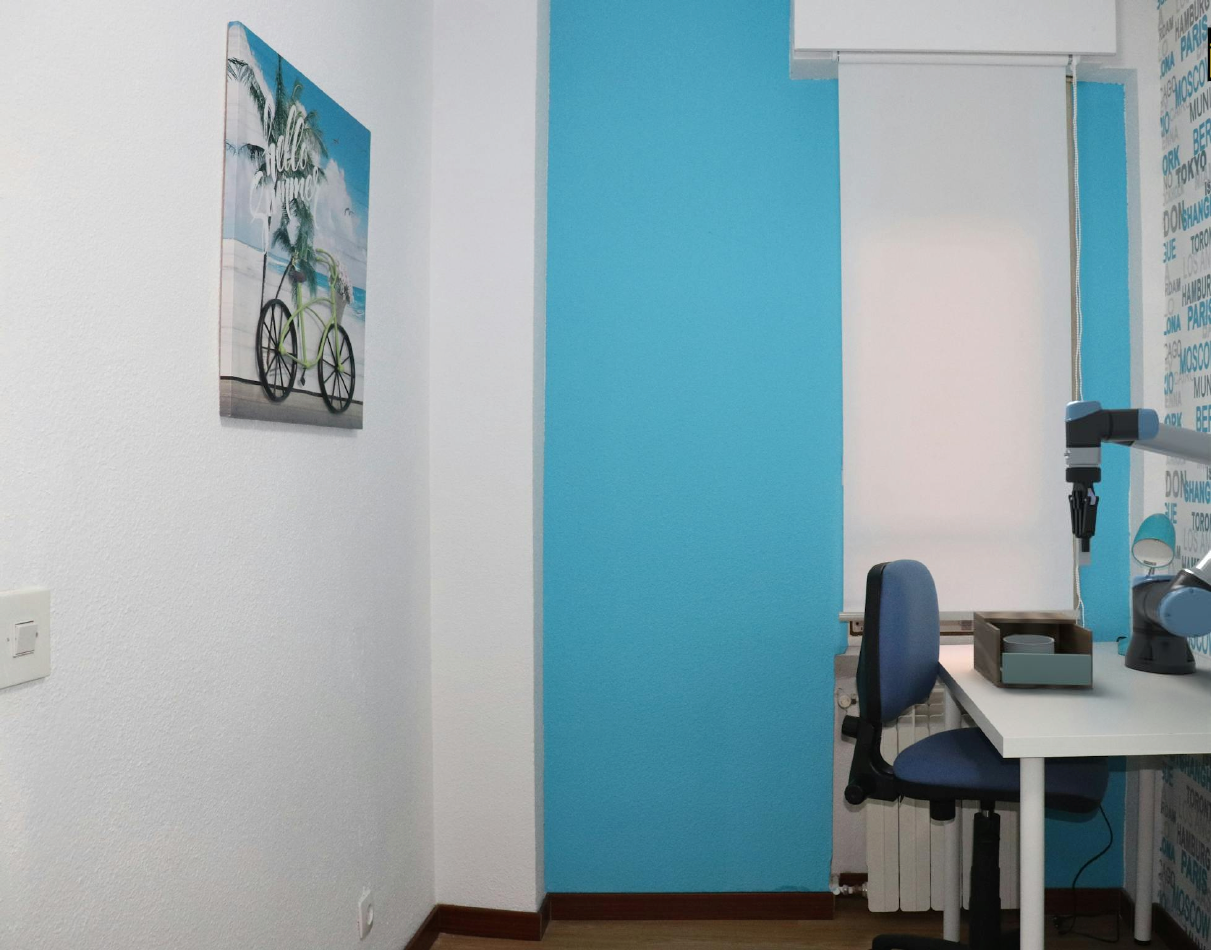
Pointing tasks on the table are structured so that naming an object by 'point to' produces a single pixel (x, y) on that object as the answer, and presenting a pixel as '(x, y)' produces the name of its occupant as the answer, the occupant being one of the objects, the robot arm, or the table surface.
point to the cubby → (1002, 624)
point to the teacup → (1028, 644)
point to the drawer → (1045, 669)
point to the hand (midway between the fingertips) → (1083, 565)
